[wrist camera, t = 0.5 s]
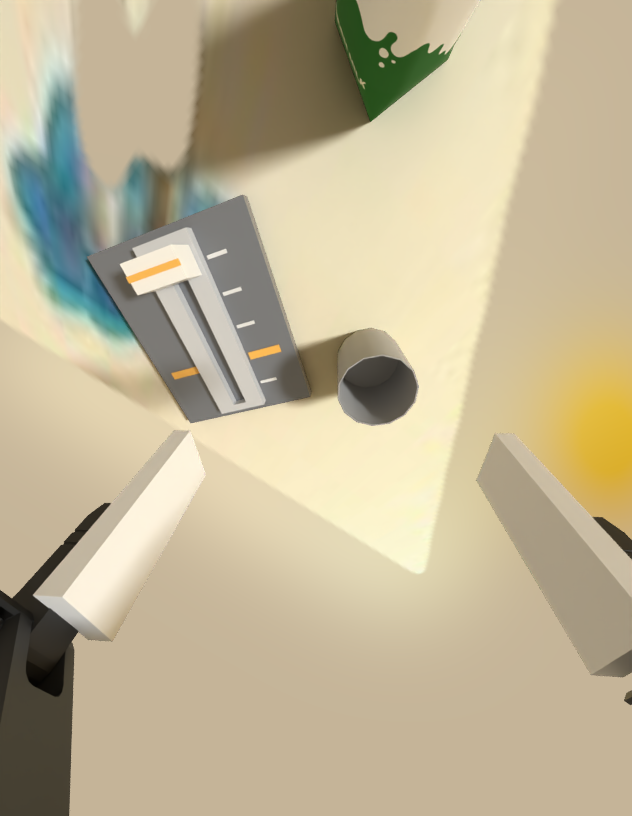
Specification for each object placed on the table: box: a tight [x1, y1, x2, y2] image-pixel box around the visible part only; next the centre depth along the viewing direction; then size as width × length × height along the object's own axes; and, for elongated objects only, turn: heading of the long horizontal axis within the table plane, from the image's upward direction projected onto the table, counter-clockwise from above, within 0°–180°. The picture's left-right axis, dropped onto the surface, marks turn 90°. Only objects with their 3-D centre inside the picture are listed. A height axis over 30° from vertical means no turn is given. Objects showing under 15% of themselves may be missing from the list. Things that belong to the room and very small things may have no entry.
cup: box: [337, 328, 419, 426], centre depth 32 cm, size 8×8×10 cm
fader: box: [120, 245, 202, 295], centre depth 29 cm, size 3×6×5 cm, turn 106°
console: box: [87, 195, 311, 423], centre depth 35 cm, size 24×20×3 cm
